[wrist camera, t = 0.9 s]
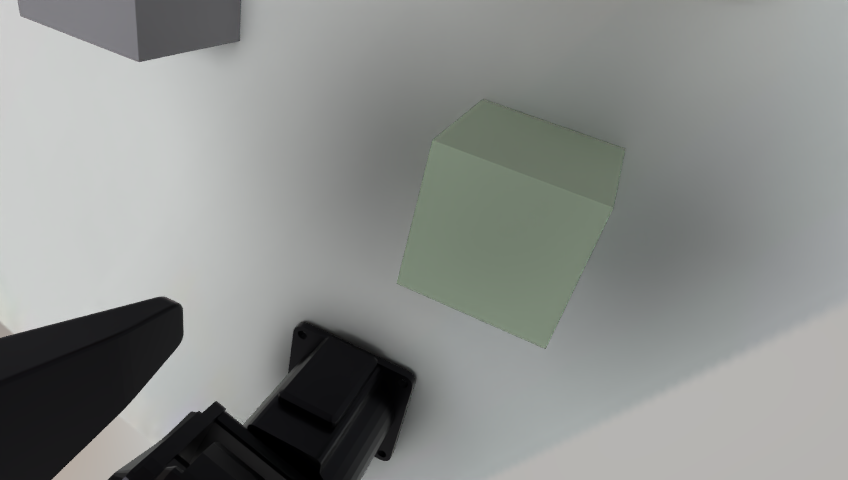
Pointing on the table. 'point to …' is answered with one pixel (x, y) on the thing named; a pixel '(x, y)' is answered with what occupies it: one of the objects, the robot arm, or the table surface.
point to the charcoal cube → (141, 23)
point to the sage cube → (509, 218)
